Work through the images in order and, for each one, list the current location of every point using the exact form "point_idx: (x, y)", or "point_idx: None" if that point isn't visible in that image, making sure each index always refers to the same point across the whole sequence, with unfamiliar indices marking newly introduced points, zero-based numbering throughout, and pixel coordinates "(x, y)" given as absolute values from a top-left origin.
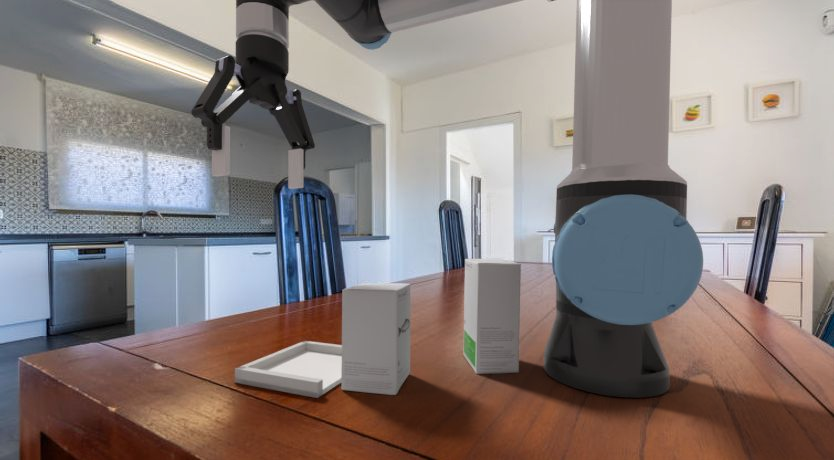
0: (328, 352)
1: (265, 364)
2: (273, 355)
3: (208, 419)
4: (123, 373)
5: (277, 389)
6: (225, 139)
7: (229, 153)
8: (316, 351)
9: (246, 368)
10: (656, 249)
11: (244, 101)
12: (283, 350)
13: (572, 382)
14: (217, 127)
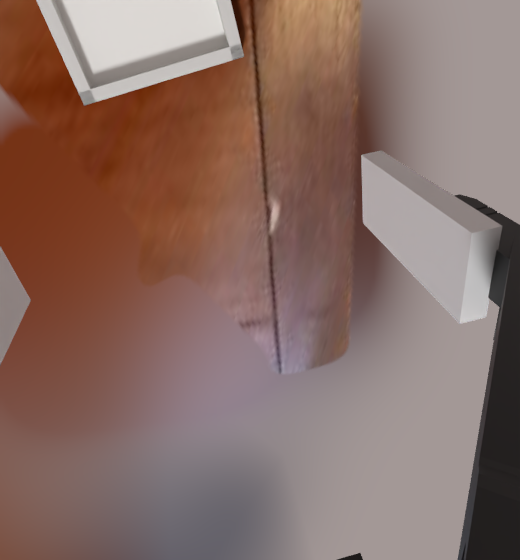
0: (66, 28)
1: (191, 57)
2: (172, 67)
3: None
4: (309, 218)
5: None
6: (453, 196)
7: (401, 180)
8: (80, 60)
9: (232, 40)
10: None
11: (505, 406)
12: (145, 80)
13: None
14: (512, 236)
